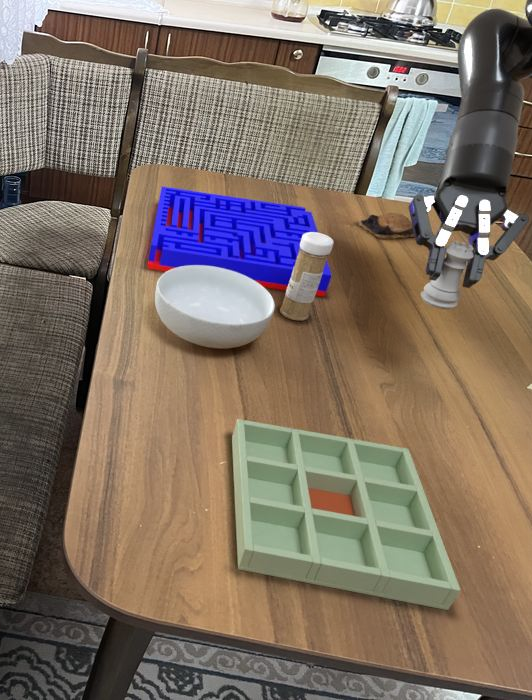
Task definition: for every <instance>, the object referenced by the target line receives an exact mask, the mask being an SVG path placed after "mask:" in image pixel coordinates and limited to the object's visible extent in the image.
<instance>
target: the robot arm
mask: <svg viewBox="0 0 532 700" xmlns="http://www.w3.org/2000/svg"><path fill="white" fill-rule="evenodd" d="M524 12H525V13H524V14H525V17H526V18H523V17H521V16H519V15H517V14H514V13H512V12H510V11H507V10H505V9H502V8H490V9H486V10H484V11H482V12H480V13H479V14H477V15H476V16H475V17H473V19H471V21H470V22H469V23H468V25H467V26H466V27H465V29H464V30H463V33H462V35H461V36H460V40H459V43H458V49H457V68H458V78H459V89H460V90H459V91H460V95H461V99H460V105H459V108H458V112H457V117H456V121H455V125H454V128H453V130H452V133H451V135H450V138H449V141H448V146H447V148H446V151H445V159H444V164H443V168H442V171H441V175H440V176H441V177H440V180H439V185H438V189H437V191H435V193H434V194H433V195H431V196H430V195H429V196H424V195H422V194H416V195H415V196H414V197H413V198H412V200H411V202H410V203H409V204H408V211H409V216H410V221H411V222H412V226H413V230H414V235H415V236H414V239H415V243H416V244H417V245H418V246H424V247H425V248H427V249H428V251H429V254H428V258H427V261H426V262H427V263H426V266H425V274H426V275H428V276H429V277H428V279H429V280H430V281H431V280H434V281H436V280H437V279H438V278H439V277H440V274H441V271H442V266H443V262H444V259H445V258H446V257H445V256H446V248H447V247H446V244H447V242H448V241H449V239H450V236H451V235H452V233H453V232H462V233H464V234H466V235H468V245H471V246H473V247H472V248H474V249H473V251H472V252H473V255H474V257H473V258H472V259H470V260H468V261H467V262H466V266H467V267H466V268H465V271H464V277H463V281H462V288H466V289H470V288H471V287H472V286H475V285H476V284H477V283H478V282H479V281H480V280H481V279H482V277H483V272H484V267H485V263H486V260H490V261H496V260H497V259H498V258H499V257H500V256H501V255H503V254H504V253H505V252H506V251H507V250H508V248H509V247H510V246H511V244H512V243H513V242H514V241H515V239H516V238H517V237H518V236H519V234H520V233H521V231H522V230H523V229H524V228H525V227H526V225H527V224H528V223H529V221H530V218H529V216H528V215H527V214H525V213H524V214H523V213H522V214H520V215H518V214H517V213H514V212H513V211H511V210H509V209H508V208H509V205H508V203H507V200H506V195H507V192H508V188H509V182H510V178H511V174H512V173H511V172H512V169H513V165H514V159H515V154H516V149H517V144H518V132H519V131H518V130H519V126H520V120H521V116H522V111H523V106H524V100H525V89H524V86H523V85H522V83H521V82H520V81H521V80H525V79H527V78H529V77H532V0H526V2H525V7H524ZM432 208H433V210H434V211H435V213H436V214H437V218H438V219H439V221H440V224H439V227H438V228H437V231H436V233H435V234H433V231H432V227H431V222H430V221H431V220H430V218H429V217H430V216H429V213H430V211H431V209H432ZM498 220H502V224H501V229H502V231H503V233H502V234H501V235H500V237H499V238H498V239H497V241H496V242H495V243H494V245H490V235H491V226H492V225H493V224H494V223H496V222H497V221H498Z"/></svg>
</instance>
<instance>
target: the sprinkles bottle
mask: <svg viewBox="0 0 532 700" xmlns="http://www.w3.org/2000/svg"><path fill="white" fill-rule="evenodd" d="M334 243H335V242H334V239H333V238H332V237H330V236H329V235H327V234H325V233H322V232H318V233H317V232H308V233H305V234H304V235H303V236H302V239H301V242H300V250H299V253H298V256H297V259H296V263H295V266H294V268H293V271H292V274H291V278H290V281H289V284H288V287H287V290H286V291H285V295H284V297H283V301H282V304H281V306H280V308H279V312H280V315H282V316H283V317H285V318H286V319H288V320H292V321H297V322H304V321H306V320H308V318H309V316H310V311H311V307H312V305H313V302H314V300H315V297H316V296H317V295H316V292H317V289H318V286H319V283H320V280H321V277H322V274H323V270H324V267H325V264H326V261H327V262H328V257H329V256H330V254H331V252H332V249H333V247H334Z"/></svg>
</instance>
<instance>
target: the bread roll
mask: <svg viewBox="0 0 532 700" xmlns="http://www.w3.org/2000/svg"><path fill="white" fill-rule="evenodd" d="M358 225H359V227H361V228H363V229H364V230H365V231H368V232H369V234H372V235H373V236H375V237H377V238H379V240H380V239H381V240H382V239H387V240H388V239H397V238H410V237H411V238H412V237H415V235H414V230H413V226H412V221H411V219H409V218H408V217H407V216H406V215H404V214H402V213H398V212H387V213H383V214H379V215H377V214H376V215H375V214H370V215H369V216H368V218H367V219H364V220H361V221H359V222H358Z"/></svg>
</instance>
